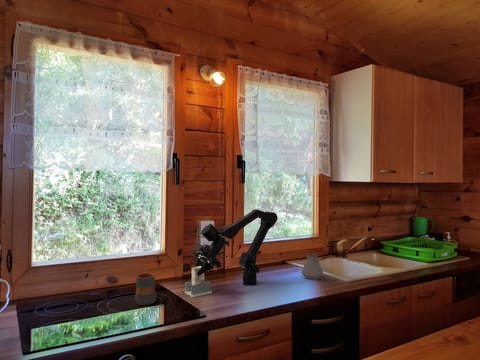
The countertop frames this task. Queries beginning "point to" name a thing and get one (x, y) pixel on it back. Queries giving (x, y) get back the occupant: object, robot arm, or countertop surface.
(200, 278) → the ash slab
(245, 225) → the robot arm
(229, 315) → the countertop surface
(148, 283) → the mug
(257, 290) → the countertop surface
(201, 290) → the grey channel bracket
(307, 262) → the coffee pot
